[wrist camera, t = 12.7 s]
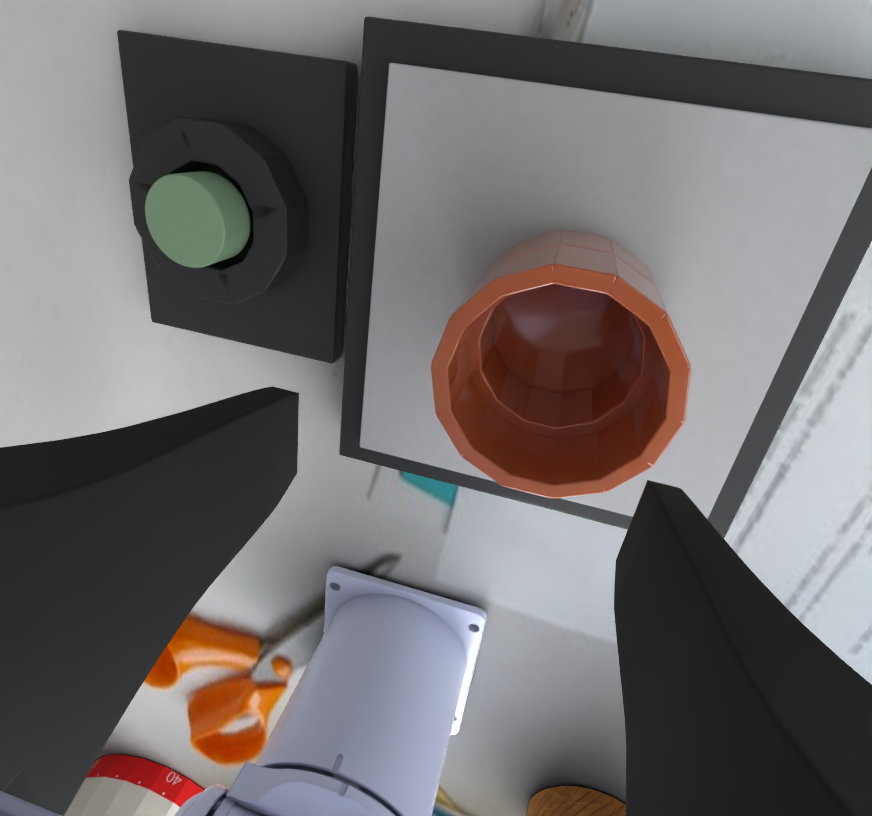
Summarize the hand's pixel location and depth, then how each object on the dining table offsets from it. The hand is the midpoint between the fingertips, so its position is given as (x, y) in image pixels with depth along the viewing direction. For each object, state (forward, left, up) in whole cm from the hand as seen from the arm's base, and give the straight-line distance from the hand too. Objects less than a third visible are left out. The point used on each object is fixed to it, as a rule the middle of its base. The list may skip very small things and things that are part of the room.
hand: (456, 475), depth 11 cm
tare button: (+2, +11, -8) cm, 13 cm away
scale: (+1, -2, -10) cm, 10 cm away
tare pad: (+2, +10, -10) cm, 15 cm away
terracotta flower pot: (+1, -2, -7) cm, 7 cm away
